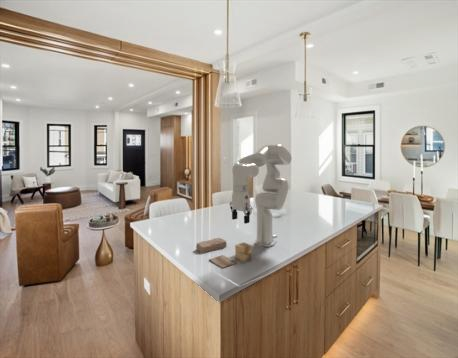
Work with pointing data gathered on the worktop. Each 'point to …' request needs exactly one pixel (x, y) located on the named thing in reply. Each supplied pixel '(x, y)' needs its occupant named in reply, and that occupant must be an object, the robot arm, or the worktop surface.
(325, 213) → the worktop surface
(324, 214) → the worktop surface
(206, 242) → the brick
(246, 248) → the oak block
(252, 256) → the pad
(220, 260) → the walnut board
